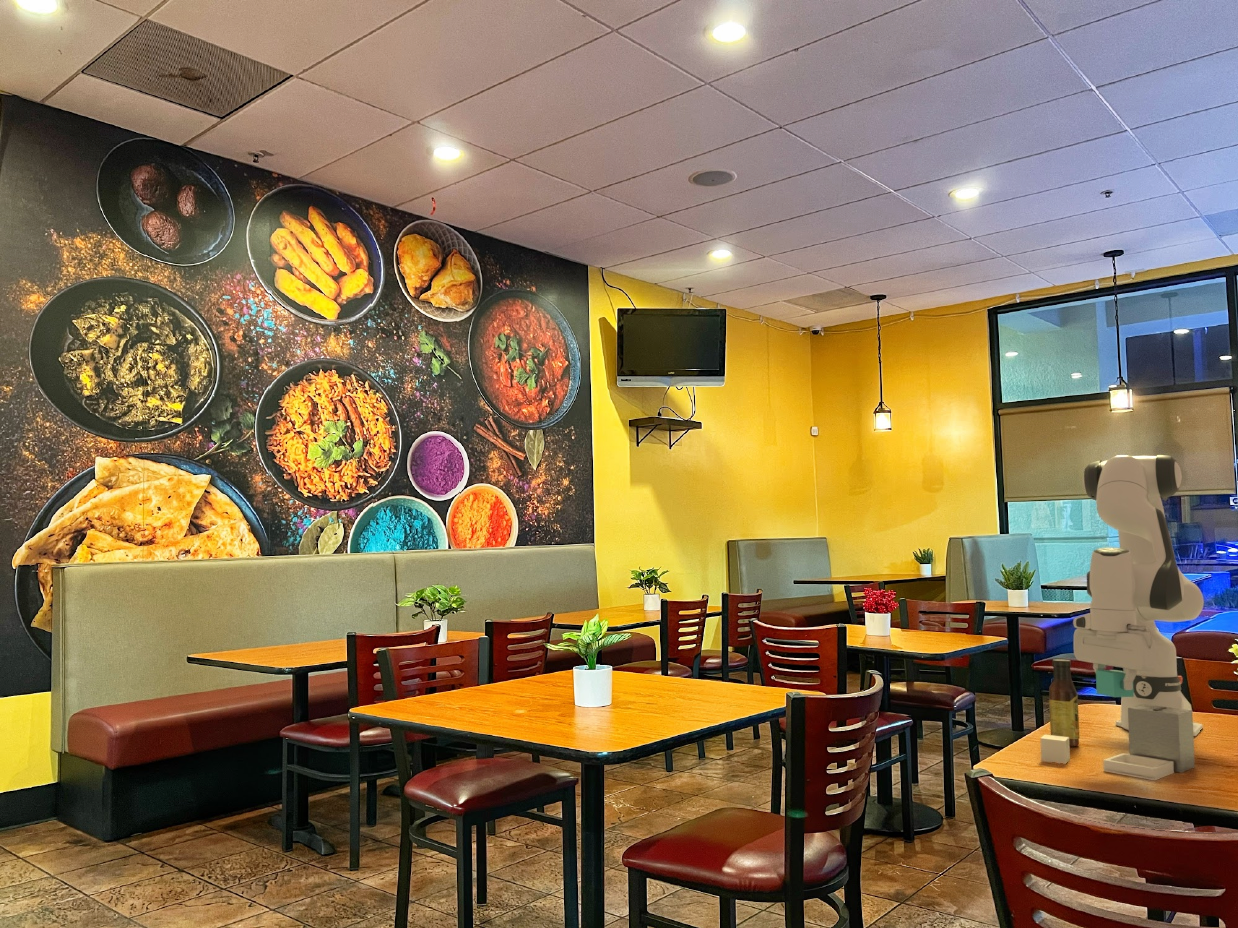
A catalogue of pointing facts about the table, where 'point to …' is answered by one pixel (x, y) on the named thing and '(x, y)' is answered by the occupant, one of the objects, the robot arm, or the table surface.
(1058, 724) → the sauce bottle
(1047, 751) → the cream block
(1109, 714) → the table surface
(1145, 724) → the dispenser
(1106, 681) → the teal block
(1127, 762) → the tray
